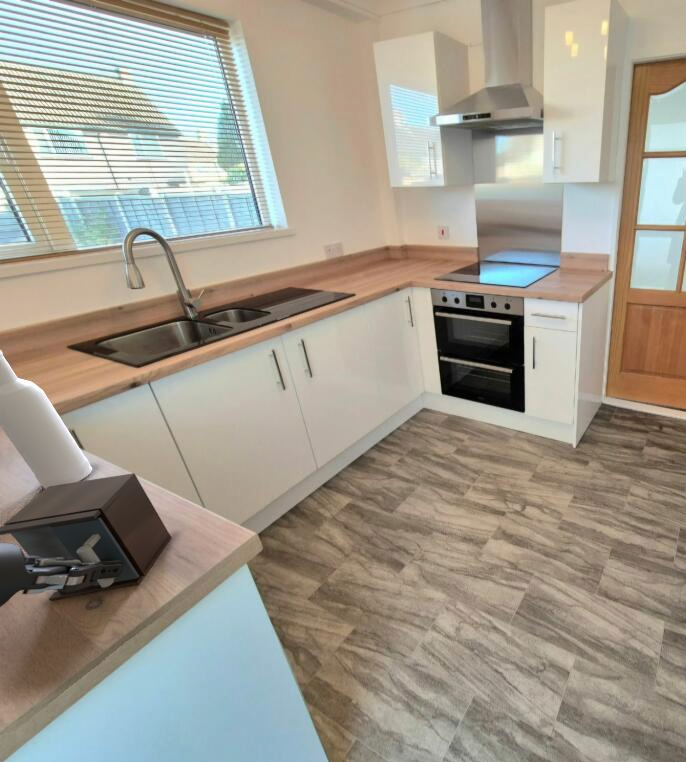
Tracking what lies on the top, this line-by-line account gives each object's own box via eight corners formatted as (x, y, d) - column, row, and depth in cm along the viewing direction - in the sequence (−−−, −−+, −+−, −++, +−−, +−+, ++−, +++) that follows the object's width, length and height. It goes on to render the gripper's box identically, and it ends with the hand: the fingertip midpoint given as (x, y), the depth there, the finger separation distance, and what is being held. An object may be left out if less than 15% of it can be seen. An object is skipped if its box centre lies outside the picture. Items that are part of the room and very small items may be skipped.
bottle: (53, 494, 86) (-43, 359, 73) (36, 485, 90) (-59, 353, 76) (100, 471, 93) (20, 342, 79) (82, 463, 96) (2, 338, 83)
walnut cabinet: (50, 601, 63) (-7, 532, 57) (94, 551, 72) (48, 486, 66) (139, 584, 65) (93, 515, 59) (171, 537, 74) (134, 472, 67)
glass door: (78, 606, 61) (30, 545, 56) (95, 584, 65) (52, 525, 59) (124, 597, 62) (82, 537, 57) (139, 576, 65) (100, 517, 60)
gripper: (5, 552, 46) (161, 546, 62) (-79, 536, 49) (90, 534, 65) (-29, 630, 43) (142, 603, 60) (-116, 609, 47) (69, 588, 63)
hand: (114, 567), depth 62 cm, fingers closed
